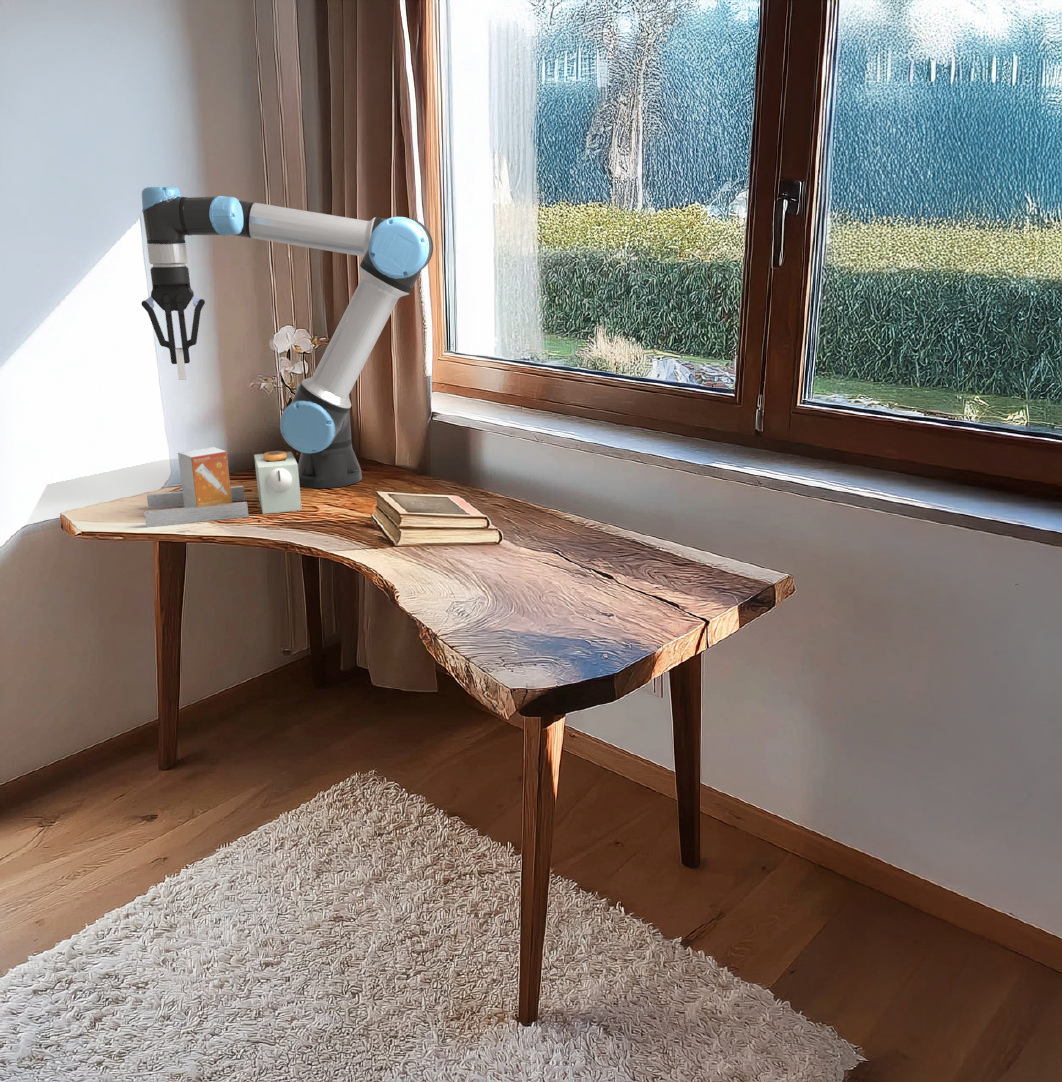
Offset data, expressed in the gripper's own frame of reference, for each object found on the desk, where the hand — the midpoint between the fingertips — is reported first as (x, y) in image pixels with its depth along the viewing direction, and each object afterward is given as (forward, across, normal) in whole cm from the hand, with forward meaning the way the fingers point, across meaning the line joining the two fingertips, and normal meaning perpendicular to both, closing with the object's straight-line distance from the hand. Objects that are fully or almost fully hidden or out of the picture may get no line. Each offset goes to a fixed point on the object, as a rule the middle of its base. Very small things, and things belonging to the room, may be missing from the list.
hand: (182, 378), depth 212 cm
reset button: (+21, -17, +13) cm, 30 cm away
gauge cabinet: (+26, -17, +13) cm, 34 cm away
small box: (+27, -2, +13) cm, 30 cm away
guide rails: (+27, 0, +13) cm, 29 cm away
